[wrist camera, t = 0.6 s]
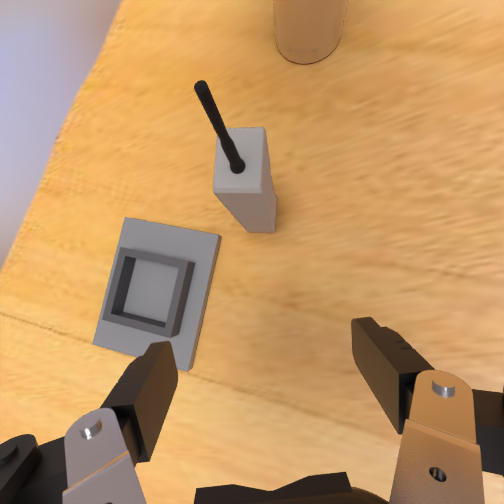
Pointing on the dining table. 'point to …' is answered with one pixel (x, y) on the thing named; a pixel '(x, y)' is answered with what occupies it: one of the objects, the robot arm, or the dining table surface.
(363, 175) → the dining table surface
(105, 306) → the dock board
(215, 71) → the dining table surface
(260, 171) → the vintage mobile phone
